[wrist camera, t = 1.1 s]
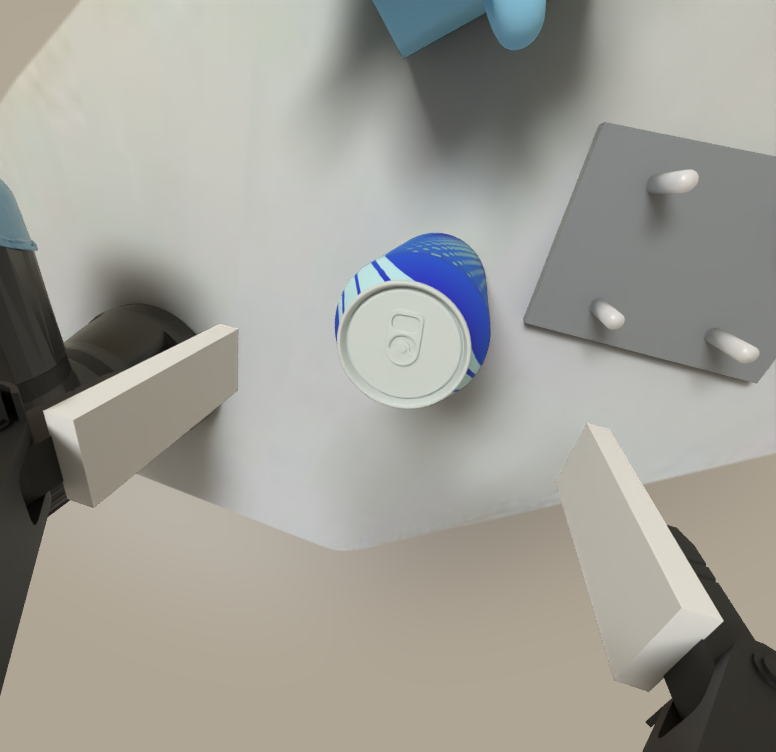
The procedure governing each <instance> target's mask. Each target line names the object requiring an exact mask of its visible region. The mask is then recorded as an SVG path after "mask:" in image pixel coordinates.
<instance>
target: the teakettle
mask: <svg viewBox="0 0 776 752" xmlns="http://www.w3.org/2000/svg"><path fill="white" fill-rule="evenodd" d="M372 1H373V3H374V5H375V7H376V9H377V10H378V12H379V14H380V16H381V18H382V20H383V22H384V24H385V25H386V27H387V29H388V31H389V33H390V35H391V37H392V38H393V40H394V42H395V44H396V46H397V48H398V50H399V52H400V53H401V55H402V57H403V59H404V58H406V57H407V56H409V55H411V54H413V53H415V52H417V51H418V50H420V49H422V48H424V47H426V46H427V45H429V44H431V43H433V42H435V41H436V40H438V39H440V38H442V37H443V36H445V35H447V34H449V33H451V32H452V31H454V30H456V29H458V28H460V27H461V26H463V25H465V24H467V23H469V22H470V21H472V20H474V19H476V18H478V17H479V16H481V15H483V14H485V13H486V14H487V17H488V20H489V22H490V25H491V28H492V30H493V32H494V34H495V36H496V38H497V40H498V41H499V43H500V44H501V45H502V46H503V47H504V48H507V49H509V50H520V49H522V48H525V47H526V46H528V45H529V44H531V43H532V42H533V41H534V40H535V39H536V38H537V36H538V34H539V33H540V31H541V29H542V26H543V23H544V19H545V10H546V0H372Z"/></svg>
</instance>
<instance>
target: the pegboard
mask: <svg viewBox="0 0 776 752" xmlns="http://www.w3.org/2000/svg"><path fill="white" fill-rule="evenodd" d="M524 322H525V323H527V324H531V325H535V326H538V327H542V328H546V329H550V330H554V331H557V332H561V333H565V334H569V335H573V336H577V337H580V338H584V339H588V340H592V341H596V342H600V343H603V344H607V345H611V346H615V347H619V348H623V349H626V350H630V351H634V352H638V353H642V354H646V355H649V356H653V357H657V358H661V359H665V360H669V361H672V362H676V363H680V364H684V365H688V366H692V367H695V368H699V369H703V370H707V371H711V372H715V373H718V374H722V375H726V376H730V377H734V378H738V379H741V380H745V381H749V382H753V383H758V381H759V380H760V379H761V377H762V376H763V375H764V373H765V372H766V371H767V370H768V368H769V367H770V366H771V364H772V363H773V362H774V360H775V359H776V157H775V156H770V155H765V154H760V153H755V152H750V151H745V150H740V149H735V148H730V147H725V146H720V145H715V144H710V143H705V142H700V141H695V140H690V139H685V138H680V137H675V136H670V135H665V134H660V133H655V132H650V131H645V130H641V129H636V128H631V127H626V126H621V125H616V124H611V123H606V122H604V123H602V124H600V125H599V127H598V129H597V132H596V134H595V137H594V139H593V142H592V144H591V147H590V150H589V152H588V155H587V157H586V160H585V162H584V165H583V168H582V170H581V173H580V175H579V178H578V180H577V183H576V186H575V188H574V191H573V193H572V196H571V198H570V201H569V203H568V206H567V209H566V211H565V214H564V216H563V219H562V221H561V224H560V227H559V229H558V232H557V234H556V237H555V239H554V242H553V244H552V247H551V250H550V252H549V255H548V257H547V260H546V262H545V265H544V268H543V270H542V273H541V275H540V278H539V280H538V283H537V285H536V288H535V291H534V293H533V296H532V298H531V301H530V303H529V306H528V309H527V311H526V314H525V316H524Z"/></svg>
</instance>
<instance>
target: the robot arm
mask: <svg viewBox="0 0 776 752" xmlns="http://www.w3.org/2000/svg"><path fill="white" fill-rule="evenodd" d="M37 250H38V248H37V245H36V243H35V242H34V241H32V240H31V238H30V236H29V233H28V231H27V228H26V226H25V223H24V220H23V218H22V215H21V213H20V210H19V207H18V205H17V202H16V200H15V197H14V195H13V193H12V191H11V190H10V189H9V187H8V186H7V185H6V184H5V183H4V182H3V181H2V180H1V179H0V694H1V690H2V687H3V683H4V679H5V675H6V672H7V668H8V664H9V660H10V657H11V653H12V649H13V645H14V641H15V638H16V634H17V630H18V626H19V623H20V619H21V615H22V611H23V607H24V603H25V600H26V596H27V592H28V588H29V585H30V581H31V577H32V574H33V569H34V566H35V562H36V558H37V555H38V551H39V547H40V543H41V539H42V536H43V532H44V528H45V524H46V521H47V517H48V516H50V515H51V514H52V513H54V512H55V511H56V510H58V509H59V508H60V507H62V506H63V505H64V504H66V503H67V502H68V501H70V500H72V501H75V502H78V503H81V504H84V505H87V506H90V507H93V508H94V507H95V506H97V505H98V504H99V503H100V502H101V501H103V500H104V499H105V498H106V497H108V496H109V495H110V494H111V493H112V492H114V491H115V490H116V489H117V488H118V487H120V486H121V485H122V484H124V483H125V482H126V481H127V480H128V479H130V478H131V477H132V476H133V475H135V474H136V473H137V472H138V471H140V470H141V469H142V468H143V467H144V466H146V465H147V464H148V463H149V462H151V461H152V460H153V459H154V458H155V457H157V456H158V455H159V454H160V453H162V452H163V451H164V450H165V449H167V448H168V447H169V446H170V445H171V444H173V443H174V442H175V441H176V440H178V439H179V438H180V437H181V436H182V435H184V434H185V433H186V432H187V431H189V430H191V429H193V428H194V427H195V426H197V425H198V424H199V423H200V422H202V421H203V420H204V419H206V418H207V417H208V416H209V415H210V414H211V412H212V411H213V410H214V409H216V408H217V407H218V406H219V405H221V404H222V403H223V402H224V401H225V400H227V399H228V398H229V397H230V396H232V395H233V394H234V393H235V392H236V391H238V329H237V328H234V327H230V326H226V325H222V324H218V325H216V326H214V327H212V328H210V329H208V330H206V331H204V332H202V333H200V334H198V335H196V334H195V333H194V332H193V331H192V330H191V329H190V328H189V327H188V326H186V325H185V324H184V323H183V322H182V321H180V320H179V319H178V318H176V317H175V316H173V315H171V314H170V313H168V312H166V311H164V310H162V309H159V308H156V307H153V306H149V305H144V304H129V305H124V306H121V307H118V308H114V309H111V310H108V311H105V312H103V313H101V314H99V315H98V316H96V317H95V318H94V319H93V320H92V321H91V322H90V323H89V324H88V325H86V326H85V327H84V328H82V329H81V330H80V331H78V332H77V333H76V334H74V335H73V336H72V337H70V338H69V339H68V340H67V341H65V342H64V343H63V340H62V337H61V334H60V331H59V328H58V325H57V322H56V319H55V316H54V313H53V310H52V307H51V304H50V301H49V298H48V295H47V291H46V288H45V285H44V282H43V278H42V275H41V272H40V269H39V265H38V262H37V259H36V256H35V252H34V251H37ZM555 482H556V485H557V489H558V492H559V496H560V499H561V502H562V506H563V509H564V512H565V516H566V519H567V523H568V526H569V530H570V533H571V536H572V540H573V543H574V546H575V549H576V553H577V557H578V560H579V563H580V566H581V570H582V573H583V577H584V580H585V583H586V587H587V590H588V594H589V597H590V601H591V604H592V607H593V611H594V614H595V618H596V621H597V624H598V628H599V631H600V635H601V638H602V642H603V645H604V648H605V652H606V655H607V658H608V662H609V665H610V668H611V672H612V675H613V678H614V680H615V681H618V682H621V683H624V684H627V685H630V686H633V687H636V688H639V689H642V690H645V691H648V692H649V691H650V690H652V688H654V687H655V686H656V685H657V684H658V683H659V682H660V681H661V680H662V679H663V678H664V679H665V681H666V684H667V686H668V689H669V691H670V694H671V696H672V699H671V700H669V701H668V702H667V703H666V704H665V705H664V706H663V707H661V708H660V709H659V710H658V711H657V712H656V713H655V714H654V715H653V716H651V717H650V718H649V719H648V720H647V721H646V723H647V724H648V725H649V726H650V727H652V726H653V725H654V724H655V725H654V728H653V730H652V732H651V734H650V736H649V739H648V741H647V743H646V745H645V747H644V749H643V752H776V651H775V650H773V649H771V648H770V647H768V646H767V645H765V644H763V643H760V642H757V641H755V639H754V638H753V636H752V635H751V633H750V632H749V630H748V628H747V627H746V625H745V624H744V623H743V621H742V619H741V617H740V616H739V614H738V613H737V611H736V610H735V608H734V607H733V605H732V603H730V600H729V599H728V597H727V596H726V594H725V593H724V591H723V589H722V588H721V586H720V585H719V583H716V581H715V580H716V579H715V577H714V575H713V574H712V572H711V571H710V570H709V568H708V567H706V563H705V561H704V560H703V558H702V557H701V555H700V554H699V552H698V550H697V549H696V547H695V546H694V545H693V544H692V543H691V542H690V541H689V540H688V539H687V538H686V537H685V536H684V535H683V534H682V533H681V532H680V531H679V530H678V529H677V528H676V527H672V526H669V525H666V524H665V522H664V520H663V518H662V517H661V515H660V513H659V512H658V510H657V508H656V507H655V505H654V503H653V502H652V500H651V498H650V497H649V495H648V493H647V492H646V490H645V488H644V486H643V485H642V483H641V481H640V480H639V478H638V476H637V475H636V473H635V471H634V470H633V468H632V466H631V465H630V463H629V461H628V460H627V458H626V456H625V455H624V453H623V451H622V450H621V448H620V446H619V445H618V443H617V441H616V440H615V438H614V436H613V435H612V433H611V431H610V429H608V428H604V427H600V426H596V425H593V424H589V423H586V425H585V427H584V429H583V431H582V433H581V435H580V437H579V438H578V440H577V442H576V444H575V446H574V448H573V450H572V451H571V453H570V455H569V457H568V459H567V461H566V463H565V465H564V466H563V468H562V470H561V472H560V474H559V476H558V478H557V480H556V481H555Z"/></svg>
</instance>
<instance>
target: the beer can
mask: <svg viewBox="0 0 776 752" xmlns="http://www.w3.org/2000/svg"><path fill="white" fill-rule="evenodd" d="M335 335H336V341H337V348H338V354H339V358H340V361H341V364H342V367H343V369H344V371H345V373H346V374H347V376H348V377H349V379H350V380H351V381H352V383H353V384H354V385H355V386H356V387H357V388H358V389H359V390H360V391H361V392H362V393H364V394H365V395H366V396H368V397H369V398H371V399H373V400H375V401H376V402H379V403H381V404H384V405H386V406H390V407H394V408H401V409H416V408H422V407H426V406H430V405H432V404H435V403H437V402H439V401H441V400H442V399H444V398H446V397H449V396H451V395H453V394H454V393H456V392H457V391H459V390H460V389H462V388H463V387H464V386H465V385H466V384H468V383H469V382H470V381H471V380H472V378H473V377H474V376H475V375H476V373H477V372H478V371H479V369H480V367H481V365H482V364H483V361H484V359H485V357H486V354H487V351H488V347H489V342H490V317H489V307H488V296H487V286H486V277H485V271H484V268H483V265H482V263H481V261H480V259H479V257H478V255H477V254H476V253H475V251H474V250H473V249H472V248H471V247H470V246H469V245H468V244H466V243H465V242H464V241H462V240H460V239H458V238H456V237H454V236H451V235H448V234H443V233H428V234H423V235H420V236H417V237H415V238H412V239H411V240H409V241H407V242H405V243H404V244H402V245H400V246H399V247H397V248H395V249H393V250H392V251H390V252H388V253H387V254H385V255H383V256H381V257H380V258H378V259H376V260H375V261H373V262H371V263H370V264H368V265H366V266H365V267H364V268H362V269H361V270H360V271H359V272H358V273H357V274H356V275H355V276H354V277H353V278H352V279H351V280H350V282H349V283H348V285H347V286H346V288H345V289H344V291H343V293H342V295H341V297H340V300H339V303H338V306H337V310H336V316H335Z"/></svg>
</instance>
